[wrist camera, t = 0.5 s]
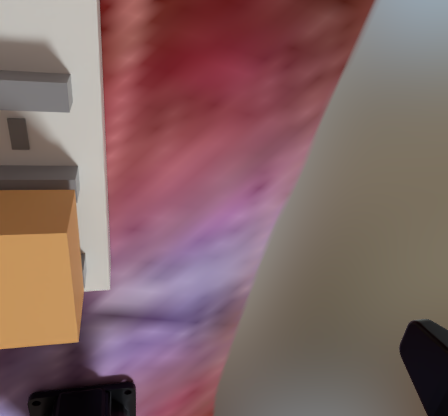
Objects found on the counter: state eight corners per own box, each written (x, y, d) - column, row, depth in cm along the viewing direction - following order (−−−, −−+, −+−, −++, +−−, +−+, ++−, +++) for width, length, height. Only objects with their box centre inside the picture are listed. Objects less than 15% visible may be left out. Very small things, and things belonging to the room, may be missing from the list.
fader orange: (86, 271, 19) (78, 342, 15) (-11, 276, 18) (-41, 352, 15) (77, 173, 16) (66, 233, 13) (-36, 173, 15) (-80, 237, 12)
